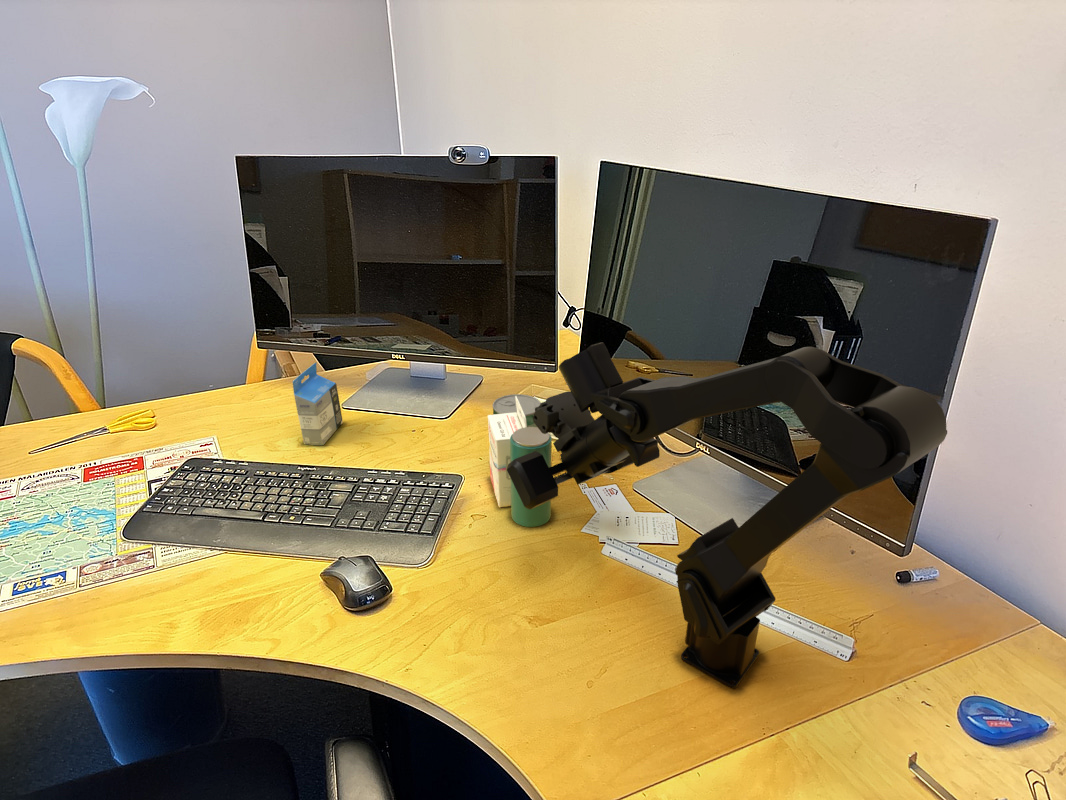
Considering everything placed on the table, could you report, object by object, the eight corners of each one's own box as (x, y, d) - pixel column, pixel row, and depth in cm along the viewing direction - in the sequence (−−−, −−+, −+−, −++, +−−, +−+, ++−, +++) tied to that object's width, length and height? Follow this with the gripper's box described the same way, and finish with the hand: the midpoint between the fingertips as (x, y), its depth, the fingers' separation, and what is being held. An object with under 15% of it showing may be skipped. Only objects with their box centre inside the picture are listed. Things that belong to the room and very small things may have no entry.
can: (551, 526, 97) (552, 445, 91) (511, 527, 96) (509, 446, 91) (549, 503, 102) (550, 425, 96) (511, 504, 102) (510, 426, 96)
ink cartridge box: (488, 479, 108) (485, 396, 102) (518, 475, 109) (517, 393, 103) (497, 508, 101) (495, 421, 94) (530, 504, 102) (529, 417, 95)
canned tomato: (549, 458, 114) (550, 399, 110) (527, 480, 108) (527, 419, 103) (508, 447, 118) (507, 390, 113) (485, 468, 111) (483, 408, 107)
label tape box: (323, 446, 118) (313, 382, 113) (301, 444, 119) (290, 380, 113) (343, 423, 126) (335, 362, 121) (323, 422, 126) (314, 361, 121)
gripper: (630, 364, 87) (572, 412, 100) (514, 402, 77) (466, 450, 89) (671, 441, 85) (607, 479, 97) (557, 490, 74) (502, 526, 87)
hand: (547, 481), depth 93 cm, fingers open, 9 cm apart
